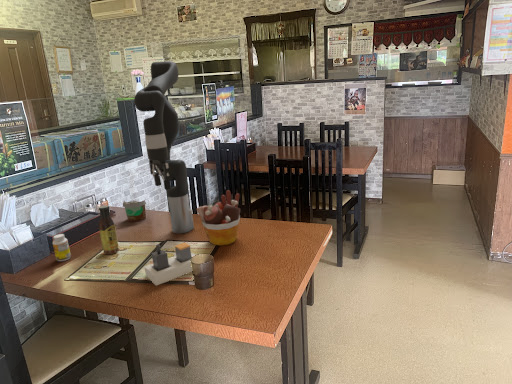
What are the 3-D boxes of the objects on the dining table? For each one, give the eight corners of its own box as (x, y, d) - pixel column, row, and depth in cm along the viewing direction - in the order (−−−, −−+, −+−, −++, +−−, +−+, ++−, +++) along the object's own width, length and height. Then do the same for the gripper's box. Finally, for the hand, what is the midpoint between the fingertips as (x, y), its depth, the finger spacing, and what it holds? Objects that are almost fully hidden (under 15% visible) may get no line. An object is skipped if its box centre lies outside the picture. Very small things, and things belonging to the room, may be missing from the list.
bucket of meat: (229, 252, 155) (224, 204, 150) (194, 247, 162) (189, 201, 157) (251, 233, 173) (247, 190, 167) (218, 230, 180) (214, 188, 174)
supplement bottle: (56, 258, 162) (51, 235, 159) (71, 254, 164) (66, 232, 162) (56, 263, 157) (50, 239, 154) (71, 259, 159) (66, 236, 157)
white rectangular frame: (190, 260, 150) (186, 231, 147) (202, 268, 143) (198, 237, 140) (145, 276, 140) (140, 245, 137) (156, 285, 133) (150, 253, 130)
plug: (187, 262, 147) (184, 242, 144) (192, 265, 143) (189, 245, 141) (177, 265, 144) (174, 245, 142) (182, 269, 141) (179, 248, 139)
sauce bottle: (114, 255, 160) (105, 209, 155) (100, 255, 162) (91, 209, 156) (122, 248, 167) (114, 204, 161) (109, 248, 168) (100, 204, 163)
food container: (120, 222, 200) (117, 204, 197) (126, 218, 206) (123, 200, 203) (143, 222, 198) (140, 203, 195) (148, 218, 203) (145, 200, 201)
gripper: (174, 146, 143) (180, 188, 148) (157, 142, 154) (163, 182, 159) (155, 149, 139) (161, 193, 144) (139, 146, 150) (146, 186, 155)
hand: (162, 187), depth 151 cm, fingers open, 8 cm apart
